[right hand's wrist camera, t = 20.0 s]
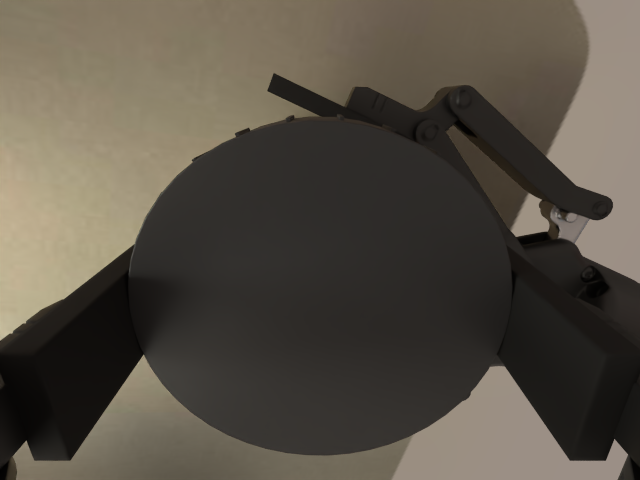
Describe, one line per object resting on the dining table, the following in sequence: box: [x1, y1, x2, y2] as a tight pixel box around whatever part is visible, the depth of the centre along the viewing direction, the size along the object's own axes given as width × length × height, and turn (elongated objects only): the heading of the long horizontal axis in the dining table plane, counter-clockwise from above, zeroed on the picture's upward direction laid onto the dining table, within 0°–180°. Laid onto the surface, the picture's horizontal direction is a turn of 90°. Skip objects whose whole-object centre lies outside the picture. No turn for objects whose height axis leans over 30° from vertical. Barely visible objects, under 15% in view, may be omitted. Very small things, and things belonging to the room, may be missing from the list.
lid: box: [128, 114, 513, 455], centre depth 11 cm, size 11×11×2 cm
